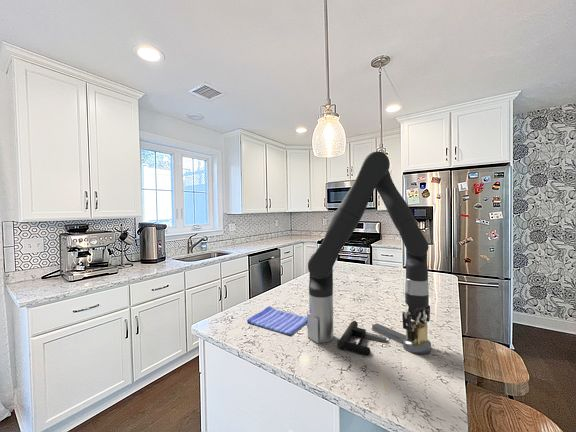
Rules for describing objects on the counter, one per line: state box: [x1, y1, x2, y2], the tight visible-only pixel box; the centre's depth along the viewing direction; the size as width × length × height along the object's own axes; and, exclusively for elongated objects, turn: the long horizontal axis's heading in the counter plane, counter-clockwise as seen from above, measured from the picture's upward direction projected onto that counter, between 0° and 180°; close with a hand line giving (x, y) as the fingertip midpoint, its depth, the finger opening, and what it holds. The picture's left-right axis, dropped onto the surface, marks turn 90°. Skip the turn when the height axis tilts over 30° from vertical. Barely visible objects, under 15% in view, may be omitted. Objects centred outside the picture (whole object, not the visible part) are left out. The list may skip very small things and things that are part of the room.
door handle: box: [337, 320, 388, 356], centre depth 100 cm, size 3×20×16 cm
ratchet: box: [371, 323, 432, 356], centre depth 100 cm, size 9×22×7 cm, turn 34°
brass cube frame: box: [405, 320, 429, 346], centre depth 94 cm, size 5×5×6 cm
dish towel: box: [246, 305, 307, 336], centre depth 119 cm, size 17×24×3 cm
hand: (416, 337), depth 95 cm, fingers open, 6 cm apart
